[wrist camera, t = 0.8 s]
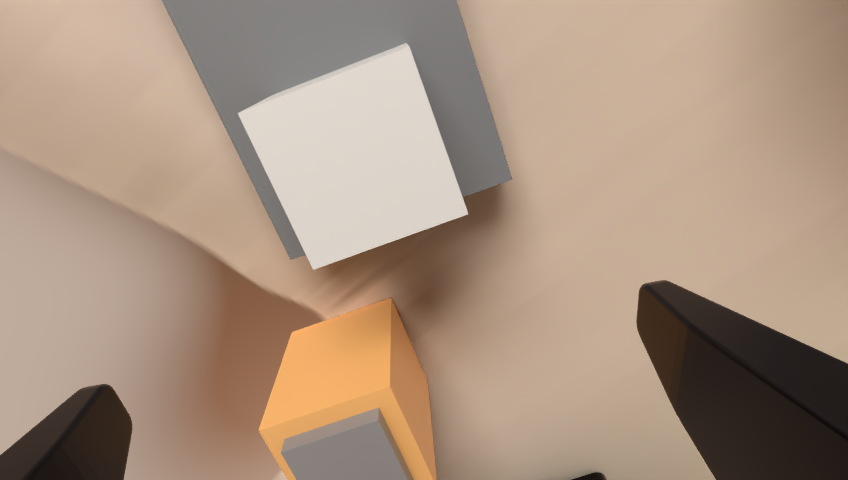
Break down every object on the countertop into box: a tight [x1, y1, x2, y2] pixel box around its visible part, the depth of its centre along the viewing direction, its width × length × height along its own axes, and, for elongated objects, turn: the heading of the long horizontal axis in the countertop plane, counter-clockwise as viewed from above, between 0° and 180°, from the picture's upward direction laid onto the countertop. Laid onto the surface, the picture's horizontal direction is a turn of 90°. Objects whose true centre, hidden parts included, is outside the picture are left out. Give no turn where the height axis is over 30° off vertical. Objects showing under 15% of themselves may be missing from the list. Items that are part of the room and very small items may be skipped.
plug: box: [259, 298, 437, 480], centre depth 20 cm, size 4×4×7 cm
